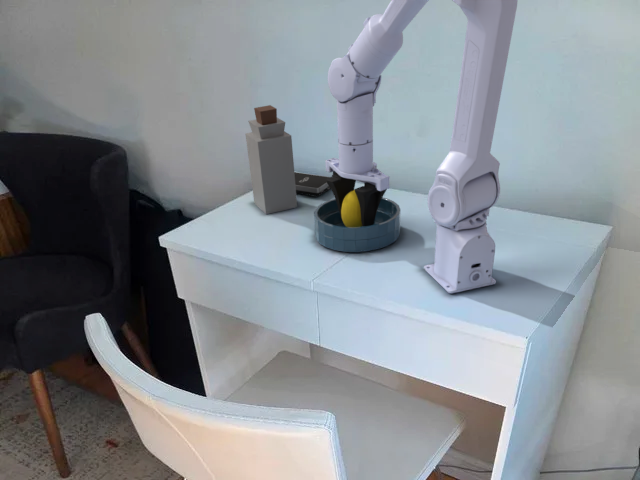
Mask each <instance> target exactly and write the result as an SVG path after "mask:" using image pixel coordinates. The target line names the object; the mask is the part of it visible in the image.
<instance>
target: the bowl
mask: <svg viewBox="0 0 640 480" xmlns="http://www.w3.org/2000/svg"><path fill="white" fill-rule="evenodd" d="M401 215H402V214H401V208H400V205H399V204H398V203H397V202H396V201H394V200H392V199H390V198H386V197H384V196H383V197H382V199H381V201H380V204H379V206H378V209H377V213H376V217H375V221H374V225H371V226H364V227H346V226H345V225H344V223H343V220H342V218H341V216H340V212H339V209H338V205H337V202H336V199H335V198H332V199H329V200H327V201H325V202H322V203H320V204H319V205H318V206H316V208H315V210H314V211H313V219H314V232H315V233H314V234H315V240H316V241H317V242H318V244H319V245H321V246H323V247H324V248H327V249H330V250H334V251H339V252H345V253H347V252H348V253H362V252H369V251H374V250H379V249H383V248H385V247H388V246H389V245H392V244H393V243H395V242H396V241H397V240H398V239H399V237H400V234H401Z"/></svg>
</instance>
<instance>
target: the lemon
mask: <svg viewBox="0 0 640 480" xmlns="http://www.w3.org/2000/svg"><path fill="white" fill-rule="evenodd" d="M355 189H356V188H354V191H351V192H350V193H348V194H347V195H346V196H345V198H344V200H343V203H342V208H341V216H342V220H343V223H344V225H345V226H346V227H363V226H362V222H361V210H360V205H359V201H358V198H357V195H356V193H355Z"/></svg>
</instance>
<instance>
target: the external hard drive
mask: <svg viewBox="0 0 640 480" xmlns="http://www.w3.org/2000/svg"><path fill="white" fill-rule="evenodd" d="M294 174H295V186H296V194H298V195H299V194H300V195H304V196H310V197H311V196H312V197H320V196H321V195H323V194H324V193H326V192H327V191H329V190H331V188H330V187H329V185H328V184H327V178H329V177H330V176H325V175H318V174H311V173H306V172H305V173H303V172H298V171H294Z"/></svg>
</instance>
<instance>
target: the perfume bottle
mask: <svg viewBox="0 0 640 480" xmlns="http://www.w3.org/2000/svg"><path fill="white" fill-rule="evenodd" d="M253 110H254V115H255V119H250V120H248V125H249V127H250V132H245V142H246V149H247V157H248V165H249V172H250V181H251V189H252V196H253V197H252V198H253V204H254V205H255V206H256V207H257V208H259V210H260V211H262V212H263V213H264V214H265V215H269V214H273V213H278V212H282V211H286V210H291V209H295V208H298V199H297V193H296V186H295V174H294V172H295V165H294V164H295V162H294V151H293V138H292V134H289V133H288V132H286V131H285V130H286V129H285V128H286V121H284V120H282V119H281V118H279V117H278V112H277V111H278V110H277V108H276V107H274V106H273V105H271V104H269V105H264V106H257V107H254V108H253Z"/></svg>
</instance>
